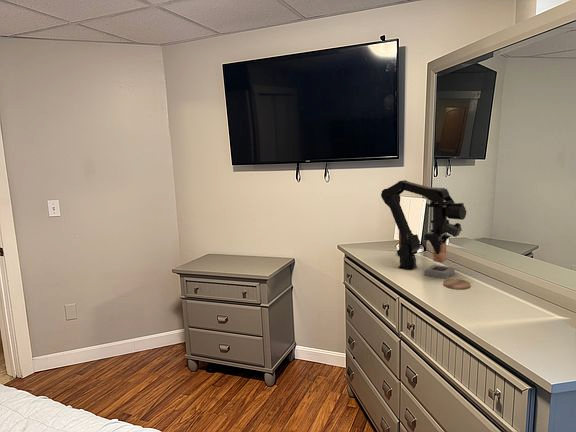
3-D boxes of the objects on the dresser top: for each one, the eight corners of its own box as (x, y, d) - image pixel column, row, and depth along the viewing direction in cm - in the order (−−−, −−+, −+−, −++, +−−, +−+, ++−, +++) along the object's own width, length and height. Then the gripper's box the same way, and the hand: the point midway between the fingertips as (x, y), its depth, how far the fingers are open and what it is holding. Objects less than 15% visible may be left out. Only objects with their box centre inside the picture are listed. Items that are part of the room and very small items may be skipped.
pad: (439, 286, 155) (439, 284, 154) (448, 279, 162) (448, 277, 162) (465, 291, 148) (465, 288, 148) (474, 284, 155) (474, 281, 155)
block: (433, 261, 168) (433, 243, 167) (437, 259, 171) (437, 241, 170) (442, 262, 166) (442, 244, 164) (446, 260, 168) (446, 242, 167)
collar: (424, 275, 169) (424, 269, 169) (433, 269, 176) (433, 264, 176) (446, 279, 163) (446, 273, 162) (454, 273, 170) (454, 267, 169)
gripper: (450, 222, 153) (450, 260, 156) (466, 215, 167) (466, 250, 169) (423, 220, 161) (423, 256, 163) (441, 214, 174) (441, 247, 177)
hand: (439, 252), depth 168 cm, fingers closed on block, 4 cm apart
